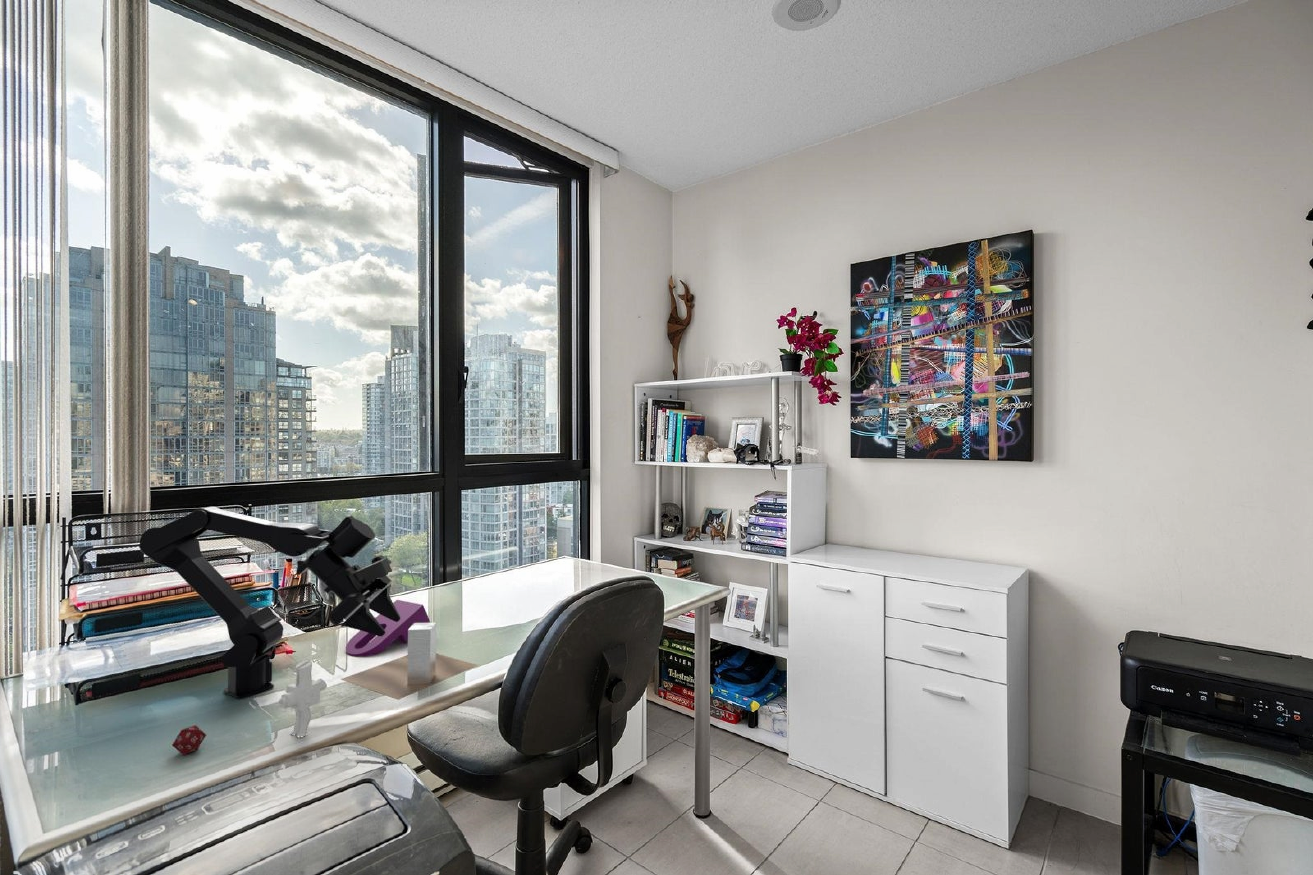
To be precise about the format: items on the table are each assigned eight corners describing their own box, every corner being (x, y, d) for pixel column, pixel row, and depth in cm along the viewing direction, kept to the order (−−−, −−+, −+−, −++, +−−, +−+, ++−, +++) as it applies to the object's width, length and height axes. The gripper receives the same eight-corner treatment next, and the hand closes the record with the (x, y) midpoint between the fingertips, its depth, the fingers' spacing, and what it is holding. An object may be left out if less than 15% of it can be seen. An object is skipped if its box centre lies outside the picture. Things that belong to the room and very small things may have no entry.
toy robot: (331, 725, 105) (332, 657, 105) (288, 745, 98) (289, 672, 98) (316, 720, 107) (317, 653, 107) (273, 739, 100) (274, 668, 100)
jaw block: (407, 684, 120) (408, 629, 120) (413, 675, 124) (414, 623, 124) (429, 683, 120) (430, 629, 120) (435, 674, 125) (436, 622, 125)
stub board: (397, 705, 113) (398, 682, 113) (340, 684, 122) (341, 663, 122) (477, 670, 130) (477, 650, 130) (422, 654, 139) (422, 635, 139)
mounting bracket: (377, 685, 136) (434, 631, 150) (363, 657, 133) (423, 604, 147) (351, 677, 140) (408, 625, 155) (336, 650, 137) (397, 599, 152)
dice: (209, 751, 96) (209, 726, 96) (174, 762, 93) (174, 736, 93) (203, 742, 99) (203, 718, 99) (169, 753, 95) (169, 728, 95)
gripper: (347, 554, 112) (407, 612, 113) (382, 537, 130) (433, 587, 132) (302, 596, 111) (362, 654, 112) (343, 573, 130) (395, 623, 131)
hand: (391, 627), depth 122 cm, fingers open, 9 cm apart
